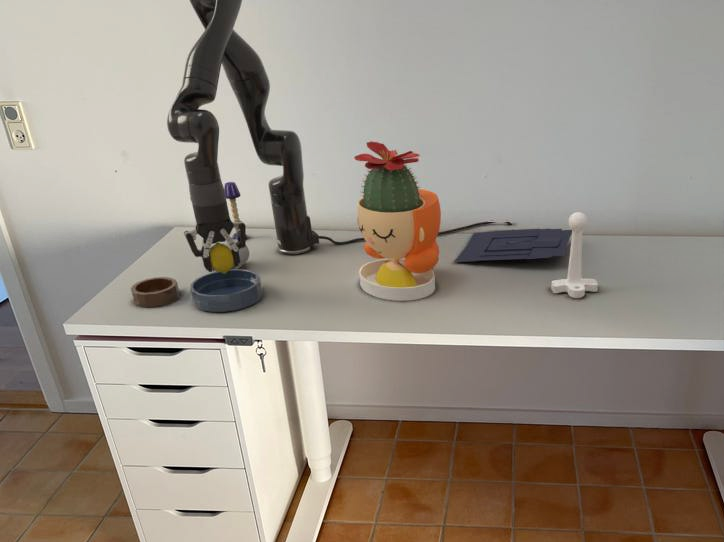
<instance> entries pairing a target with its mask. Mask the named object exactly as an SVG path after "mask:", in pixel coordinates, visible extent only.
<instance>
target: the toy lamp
mask: <svg viewBox="0 0 724 542" xmlns="http://www.w3.org/2000/svg"><path fill="white" fill-rule="evenodd" d="M223 187H224V191H225V196H226V200H229V202H230V204H229V205H230V207H231V209H230V210H231V213H232V214H231V216H232V219H233V221H232V222H238V221H241V220H240V218H239V215H240V214H239V209H238V204H237V199H238V198H240V197H241V192H240V190H239V187H238V186H237V184H236V182H234V181H228V182H225V183H224V184H223ZM233 239H237V240H238V231H236V230H235V233H233V235H232V240H233ZM247 239H248V236H247V234H246V240H247Z"/></svg>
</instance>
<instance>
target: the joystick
mask: <svg viewBox="0 0 724 542" xmlns="http://www.w3.org/2000/svg"><path fill="white" fill-rule="evenodd" d="M568 226H569V228H570V230H572V234H571V242H570V249H569V250H570V251H569V259H568V266H567V276H566V278H561V279H554V280H552V281H551V284H550V285H551V286H550V287H551V288H550V291H551V292H552V293H553V294H559V293H567V294H568V296H569V297H570V298H572V299H581V298H583V297H584V296H585V294H586V292H594V293H596V292H598V288H599V287H598V286H599V283H598V282H597V279H595V278H583V231H584V229H586V227H587V226H588V217H587V215H585V214H584V213H583V212H580V211H576V212H573V213H572V214H571V215H570V216H569V218H568Z"/></svg>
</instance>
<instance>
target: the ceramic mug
mask: <svg viewBox="0 0 724 542" xmlns="http://www.w3.org/2000/svg"><path fill="white" fill-rule="evenodd" d="M232 240H233V241H234V243H237V242H238V240H237V239H233V238H232ZM222 244H224V245H226V246H228V247H229V248H230V250H232V249H231V246H230V245H229V244H228V242H227V241H225V242H222ZM239 257H240V263H239V264H238V265H239V266H235V265H234V263H233V266H232V268H231V269H240V268H241V267H242V266H243V265H245V264H246V262H247V261H248V260H249V258H250V249H249V247H248V246H247V245H246V246H245V247H244V248H241V249H239ZM231 269H230V270H231Z"/></svg>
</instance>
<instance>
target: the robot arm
mask: <svg viewBox="0 0 724 542" xmlns="http://www.w3.org/2000/svg"><path fill="white" fill-rule="evenodd" d="M189 3H190V4H191V6H192V8H193V10H194V12H195V14H196V16H197V18H198V20H199V22H200V24H201V25H202V26H203V28H204V31H203V32H202V33H201V35H200V37H199V38H198V39H197V41H196V42H195V43H194V45H193V46H192V48H191V49H190V51H189V53H188V55H187V57H186V61H185V65H184V71H183V77H182V82H181V83H182V84H181V86H180V89H179V90H178V92H177V95H176V97H175V99H174V100H173V103H172V104H171V107H170V109H169V111H168V114H167V119H166V126H167V127H166V128H167V132H168V133H169V135H170V137H171V138H172V139H173V140H175V141H176V142H179V143H190V144H197V146H198V148H197V151H196V152H192V153H191V152H190V153H189V154H187V155H185V157H184V159H183V164H184V169H185V173H186V178H187V182H188V192H189V199H190V202H191V205H192V209H193V214H194V219H195V224H196V225H195V228H194V229H192V230H190V231H189V230H185V231H184V232H183V235H184V237H185V239H186V241H187V244H188V246H189V248H190V250H191V252H192V254H193V255H194V257H196V258H201V259H202V263H203V267H204V268H205V270H206V271H208V272H209V273H212V272H213V268H212V266H211V262H210V257H209V251H210V249H211V247H212V246H213V245H215V244H216V243H225V242H228V244H229V245H230V246H231V249H232V250H231V252H232V254H233V258H234V265H235V266H239V265H238V264H239V263H240V257H239V249H241V248H244V247H245V246H247V243H246V242H247V241H246V240H247V239H246V235H247V233H246V231H247V230H246V229H247V228H246V227H247V226H246V224H245V223H244V221H242V220H240V221H238V222H234V221H232V219H231V216H230V212H229V211H230V210H229V207H228V201H227V199H226V196H225V191H224V184H223V181H222V177H221V173H220V167H219V161H218V156H219V155H218V154H219V141H220V125H219V122H218V119H217V118H216V116H215V115H214V113H212V112H211V111H209V110H207V109H203V108H202V109H200V108H201V107H202V106H205V105H208V104H212V103H213V102H214V101H215V100H216V96H217V93H218V92H217V91H218V86H219V79H220V73H221V68H223V71H224V73H225V77H226V79H227V81H228V83H229V86H230V87H231V90H232V92H233V94H234V96H235V98H236V100H237V103H238V105H239V107H240V111H241V112H242V115H243V118H244V121H245V123H246V125H247V129H248V132H249V135H250V138H251V141H252V144H253V148H254V151H255V153H256V155H257V157H258V159H259V161H260V162H261V163H262V164H264V165H267V166H275V167H282V175H278V176H276V177H273V178H271V179H270V180H269V181H268V191H269V198H270V203H271V209H272V210H271V211H272V215H273V222H274V223H273V224H274V228H275V234H276V238H275V242H276V243H277V248H278V252H279V253H280V254H283V255H291V256H292V255H293V256H294V255H301V254H305V253H308V252H309V251H311V250H314V249H315V245H319V244H320V240H321V239H322V240H327V241H329V242H331V243H332V244H334V245H340V246H341V245H347V244H352V243H356V242H361V241H366V240H365V239H364V237H358V238H354V239H350V240H346V241H335V240H334V239H333V238H331V237H328V236H324V235H319V234H318V233H317V232H316V231H314V229H313V228H312V223H311V217H310V216H309V215H308V211H307V210H308V209H307V202H306V196H305V188H304V179H305V178H304V177H305V176H304V175H305V173H304V165H303V164H304V163H303V150H302V143H301V139H300V137H299V135H298V134H297V133H296V132H295V131H293V130H283V129H272V128H271V127H270V125H269V123H268V120H267V118H266V107H267V103H268V100H269V97H270V92H271V91H270V90H271V83H270V79H269V76H268V74H267V71H266V68H265V66H264V63H263V61H262V59H261V57H260V55H259V54H258V53H257V51H256V50H255V49H254V48H253V47H252V46H251V45H250V43H248V42H247V41H246V40H245V39H244V38H243V37H242V36H241V35H240V34H239V33H238V32H237V31H236V30H235V29H234V27H235V24H236V22H237V19H238V16H239V13H240V10H241V6H242V3H243V0H189ZM507 221H508V222H504V223H505V224H507V225H509V226H512V225H513V224H512V222H510V221H509V220H507ZM494 223H496V222H488V221H482V222H476V223H472V224H468V225H464V226H461V227H456V228H453V229H449V230H444V231H439V233H438V236H441V235H446V234H449V233H455V232H458V231H463V230H466V229H471V228H473V227H477V226H478V227H479V226H484V225H489V224H494ZM233 229H235V232H236V231H238V242H237V243H234V241H233V238H232V237H231V236H230V235H231V233H232V231H233ZM197 235H198V236H200V237H201V238H202V242H201V249H198V246H197V243H196V242H195V241H196V240H197Z"/></svg>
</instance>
